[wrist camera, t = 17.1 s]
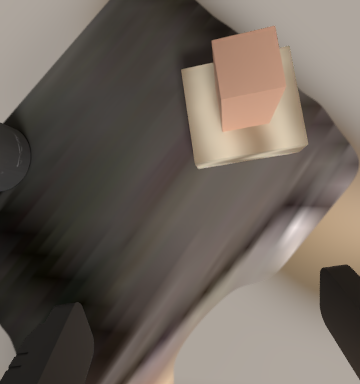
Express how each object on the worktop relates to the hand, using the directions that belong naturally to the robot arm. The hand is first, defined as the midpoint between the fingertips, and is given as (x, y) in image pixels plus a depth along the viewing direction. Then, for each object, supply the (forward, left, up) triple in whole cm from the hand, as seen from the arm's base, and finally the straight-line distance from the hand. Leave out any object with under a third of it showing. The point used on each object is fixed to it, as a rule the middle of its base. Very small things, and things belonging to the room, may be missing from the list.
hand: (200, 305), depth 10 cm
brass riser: (+5, +14, -25) cm, 30 cm away
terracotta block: (+5, +14, -21) cm, 26 cm away
